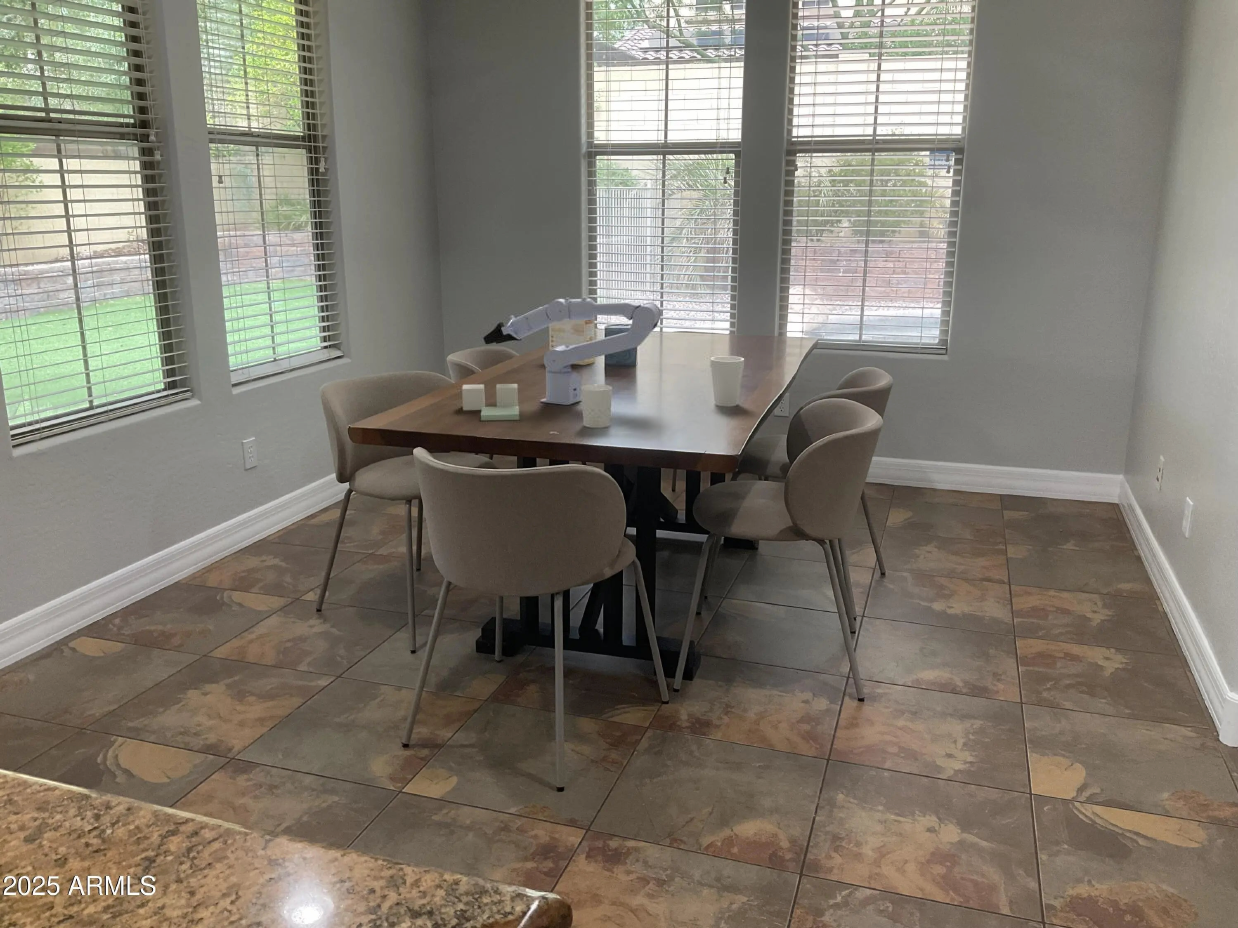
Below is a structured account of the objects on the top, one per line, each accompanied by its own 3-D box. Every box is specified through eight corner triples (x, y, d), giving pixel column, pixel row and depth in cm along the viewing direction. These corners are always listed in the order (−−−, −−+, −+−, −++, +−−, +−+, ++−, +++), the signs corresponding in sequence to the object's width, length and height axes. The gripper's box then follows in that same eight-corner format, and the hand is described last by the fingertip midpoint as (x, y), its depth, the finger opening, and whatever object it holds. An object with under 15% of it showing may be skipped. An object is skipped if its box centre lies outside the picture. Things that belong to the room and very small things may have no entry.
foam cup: (716, 408, 279) (717, 362, 276) (704, 401, 288) (705, 356, 284) (747, 406, 282) (749, 360, 278) (735, 399, 290) (736, 355, 287)
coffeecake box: (595, 362, 351) (595, 306, 346) (584, 365, 346) (583, 308, 340) (560, 358, 359) (559, 304, 354) (549, 361, 353) (548, 306, 348)
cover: (484, 405, 282) (484, 384, 281) (484, 409, 277) (483, 388, 275) (464, 405, 282) (463, 384, 280) (463, 410, 276) (462, 388, 275)
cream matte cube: (517, 404, 283) (517, 383, 282) (518, 409, 278) (517, 387, 276) (497, 405, 283) (496, 384, 281) (496, 409, 277) (496, 388, 276)
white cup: (595, 420, 265) (594, 383, 262) (618, 424, 260) (618, 387, 257) (575, 425, 259) (574, 387, 256) (598, 430, 254) (598, 391, 251)
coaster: (518, 411, 275) (518, 406, 274) (519, 419, 265) (518, 414, 265) (482, 412, 274) (482, 406, 273) (481, 420, 264) (480, 414, 264)
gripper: (534, 309, 290) (494, 327, 294) (516, 309, 277) (474, 328, 281) (543, 332, 291) (503, 349, 295) (526, 333, 277) (484, 351, 281)
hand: (489, 340), depth 288 cm, fingers open, 7 cm apart
